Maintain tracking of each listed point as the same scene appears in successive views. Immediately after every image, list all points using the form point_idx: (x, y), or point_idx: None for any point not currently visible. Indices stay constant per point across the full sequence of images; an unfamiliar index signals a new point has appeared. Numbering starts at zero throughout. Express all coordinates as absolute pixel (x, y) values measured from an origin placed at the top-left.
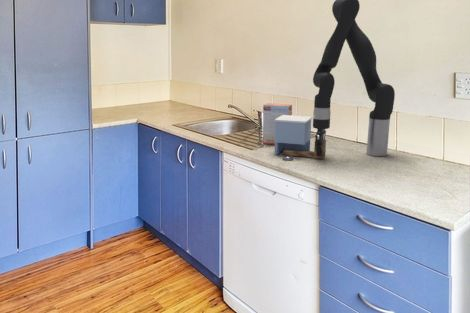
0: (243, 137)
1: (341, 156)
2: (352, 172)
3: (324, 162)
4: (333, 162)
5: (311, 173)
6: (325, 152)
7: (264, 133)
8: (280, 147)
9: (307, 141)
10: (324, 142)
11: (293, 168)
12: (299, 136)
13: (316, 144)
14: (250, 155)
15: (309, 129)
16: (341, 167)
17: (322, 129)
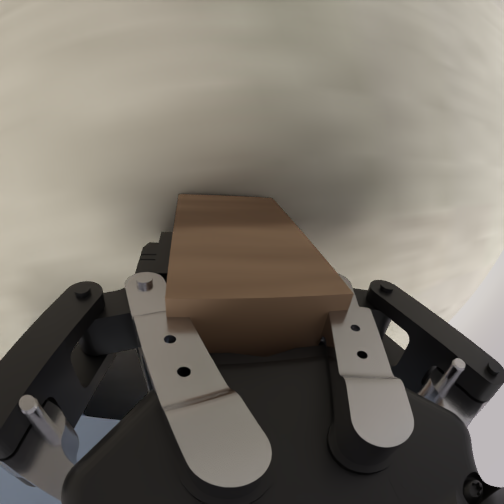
0: None
1: (88, 56)
2: (486, 46)
3: (347, 182)
4: (334, 109)
5: (498, 235)
6: (178, 208)
7: None
8: None
9: (110, 420)
10: (348, 287)
11: (442, 316)
12: None
13: (394, 343)
14: None
15: (32, 494)
16: (437, 74)
17: (462, 500)
